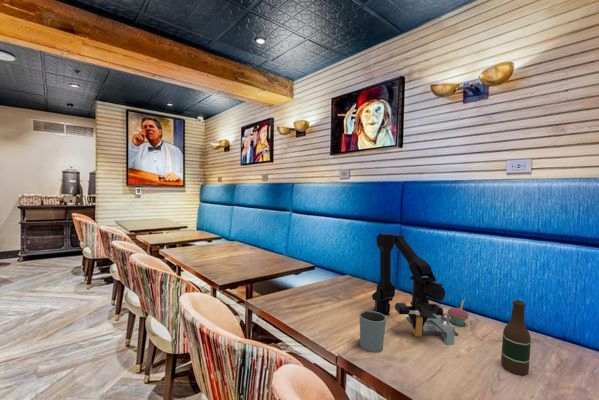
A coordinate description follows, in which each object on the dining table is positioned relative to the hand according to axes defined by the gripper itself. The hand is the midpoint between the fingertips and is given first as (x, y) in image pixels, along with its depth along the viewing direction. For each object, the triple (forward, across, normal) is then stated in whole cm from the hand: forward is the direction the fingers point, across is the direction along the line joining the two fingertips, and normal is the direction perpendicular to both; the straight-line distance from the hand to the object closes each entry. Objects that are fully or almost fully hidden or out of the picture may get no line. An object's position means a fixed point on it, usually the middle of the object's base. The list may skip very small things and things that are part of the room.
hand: (417, 328), depth 122 cm
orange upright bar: (+2, 0, 0) cm, 2 cm away
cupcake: (+3, +25, +12) cm, 28 cm away
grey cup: (+3, -23, -10) cm, 25 cm away
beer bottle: (+3, +24, -23) cm, 33 cm away
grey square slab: (+2, +10, +4) cm, 11 cm away
